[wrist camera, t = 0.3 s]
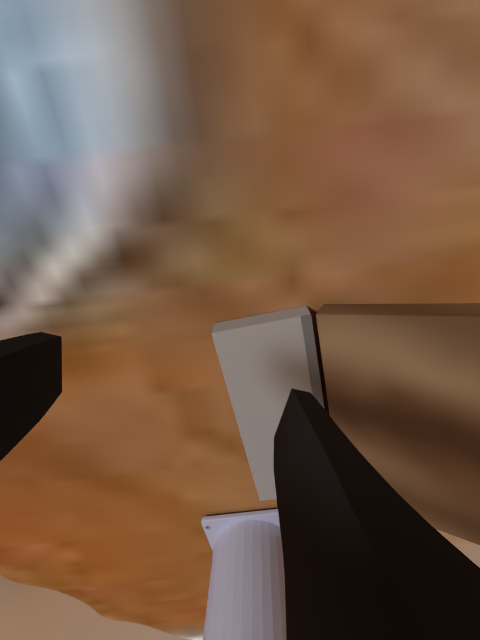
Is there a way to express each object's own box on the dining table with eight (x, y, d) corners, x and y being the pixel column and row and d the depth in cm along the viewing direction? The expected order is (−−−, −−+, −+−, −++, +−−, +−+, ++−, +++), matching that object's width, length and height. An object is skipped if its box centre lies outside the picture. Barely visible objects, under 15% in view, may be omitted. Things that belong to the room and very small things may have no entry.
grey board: (331, 475, 23) (336, 493, 22) (259, 483, 24) (259, 501, 22) (306, 305, 18) (311, 314, 16) (214, 323, 19) (210, 333, 17)
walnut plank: (488, 525, 18) (491, 549, 17) (345, 477, 23) (340, 493, 22) (520, 303, 12) (528, 317, 11) (323, 304, 17) (315, 314, 16)
